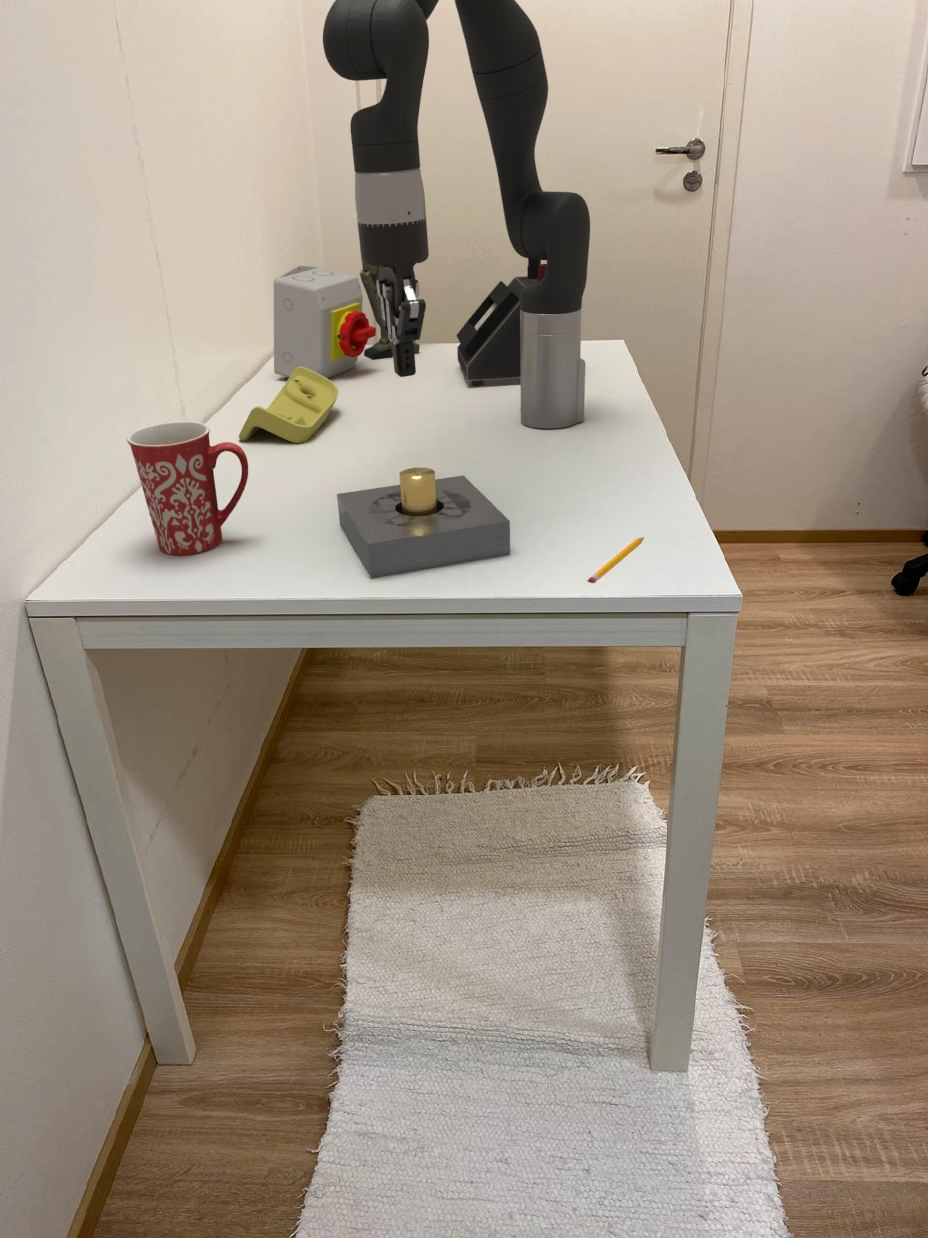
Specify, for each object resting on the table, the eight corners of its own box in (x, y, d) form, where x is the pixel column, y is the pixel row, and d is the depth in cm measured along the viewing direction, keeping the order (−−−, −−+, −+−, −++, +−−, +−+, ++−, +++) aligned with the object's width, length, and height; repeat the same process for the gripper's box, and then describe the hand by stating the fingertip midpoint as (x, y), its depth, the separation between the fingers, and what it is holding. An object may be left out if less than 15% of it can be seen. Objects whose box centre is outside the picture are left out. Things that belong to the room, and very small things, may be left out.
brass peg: (432, 530, 111) (429, 465, 108) (442, 542, 108) (439, 476, 104) (400, 535, 110) (395, 470, 107) (409, 547, 107) (404, 481, 103)
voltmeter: (456, 367, 182) (452, 258, 173) (539, 362, 183) (540, 254, 174) (465, 388, 168) (461, 271, 159) (555, 383, 169) (557, 266, 160)
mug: (141, 561, 106) (116, 446, 100) (160, 530, 114) (138, 422, 108) (252, 556, 106) (234, 441, 100) (264, 525, 114) (248, 417, 108)
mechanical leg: (357, 358, 188) (379, 197, 176) (344, 352, 193) (365, 195, 182) (419, 365, 194) (443, 210, 183) (404, 359, 200) (427, 208, 189)
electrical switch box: (340, 398, 173) (344, 287, 162) (273, 380, 178) (273, 270, 167) (380, 379, 185) (386, 274, 174) (316, 362, 189) (318, 259, 179)
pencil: (587, 584, 98) (587, 578, 98) (640, 539, 108) (640, 533, 107) (594, 585, 98) (593, 579, 97) (646, 540, 107) (647, 534, 107)
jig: (464, 505, 118) (463, 475, 116) (510, 554, 105) (509, 521, 103) (340, 524, 114) (336, 493, 112) (370, 578, 100) (367, 544, 98)
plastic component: (307, 431, 141) (246, 401, 140) (293, 471, 145) (234, 443, 144) (346, 387, 157) (292, 360, 156) (333, 424, 161) (280, 398, 161)
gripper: (443, 218, 97) (454, 383, 106) (406, 207, 108) (418, 357, 117) (374, 225, 95) (390, 393, 104) (343, 213, 106) (360, 366, 115)
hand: (405, 374), depth 110 cm, fingers closed
